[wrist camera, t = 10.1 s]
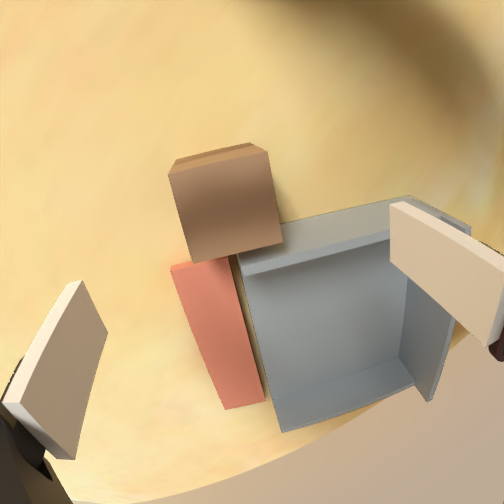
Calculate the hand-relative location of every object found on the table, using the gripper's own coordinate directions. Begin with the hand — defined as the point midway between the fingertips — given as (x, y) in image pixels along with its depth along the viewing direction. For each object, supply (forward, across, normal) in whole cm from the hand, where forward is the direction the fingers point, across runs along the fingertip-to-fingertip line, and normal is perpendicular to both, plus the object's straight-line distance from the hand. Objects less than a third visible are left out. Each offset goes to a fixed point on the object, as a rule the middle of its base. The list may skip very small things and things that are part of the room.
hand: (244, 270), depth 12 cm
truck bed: (+15, +9, -15) cm, 23 cm away
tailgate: (+14, -1, -15) cm, 20 cm away
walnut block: (+15, 0, 0) cm, 15 cm away
